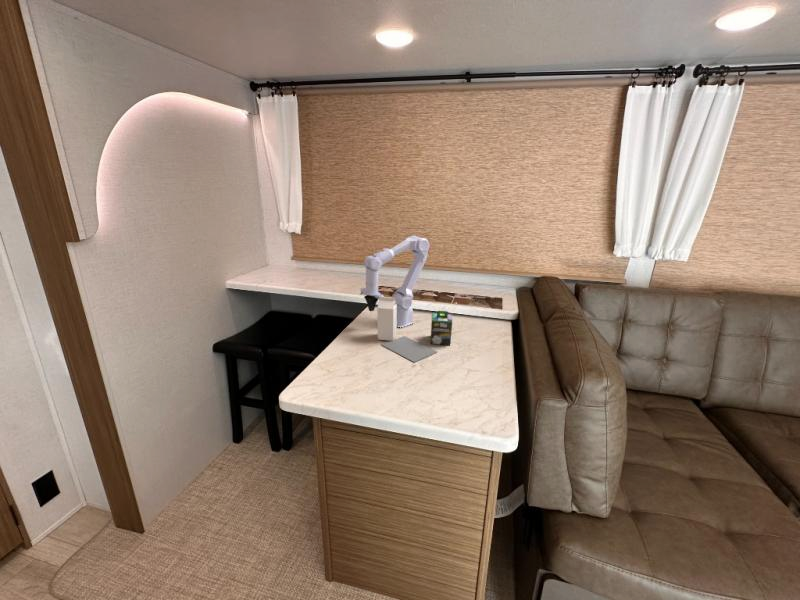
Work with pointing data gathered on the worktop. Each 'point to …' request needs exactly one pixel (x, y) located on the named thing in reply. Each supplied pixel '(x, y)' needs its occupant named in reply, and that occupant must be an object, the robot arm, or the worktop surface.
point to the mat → (409, 349)
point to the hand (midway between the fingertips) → (371, 310)
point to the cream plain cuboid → (387, 318)
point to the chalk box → (441, 328)
